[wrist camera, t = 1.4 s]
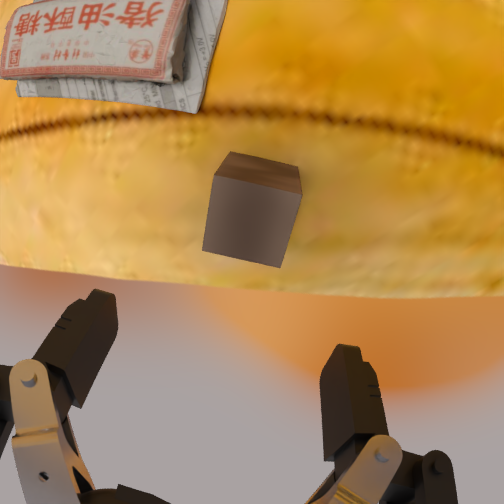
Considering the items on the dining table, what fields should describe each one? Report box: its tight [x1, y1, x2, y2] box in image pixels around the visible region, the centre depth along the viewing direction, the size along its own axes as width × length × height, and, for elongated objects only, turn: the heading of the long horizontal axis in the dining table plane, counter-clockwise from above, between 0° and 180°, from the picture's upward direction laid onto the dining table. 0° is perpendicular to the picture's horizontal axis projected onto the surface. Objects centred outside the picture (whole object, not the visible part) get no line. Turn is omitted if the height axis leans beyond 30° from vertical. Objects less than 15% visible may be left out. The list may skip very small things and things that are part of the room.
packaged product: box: [0, 0, 228, 114], centre depth 16 cm, size 18×5×10 cm
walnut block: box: [202, 151, 302, 268], centre depth 21 cm, size 5×5×6 cm
